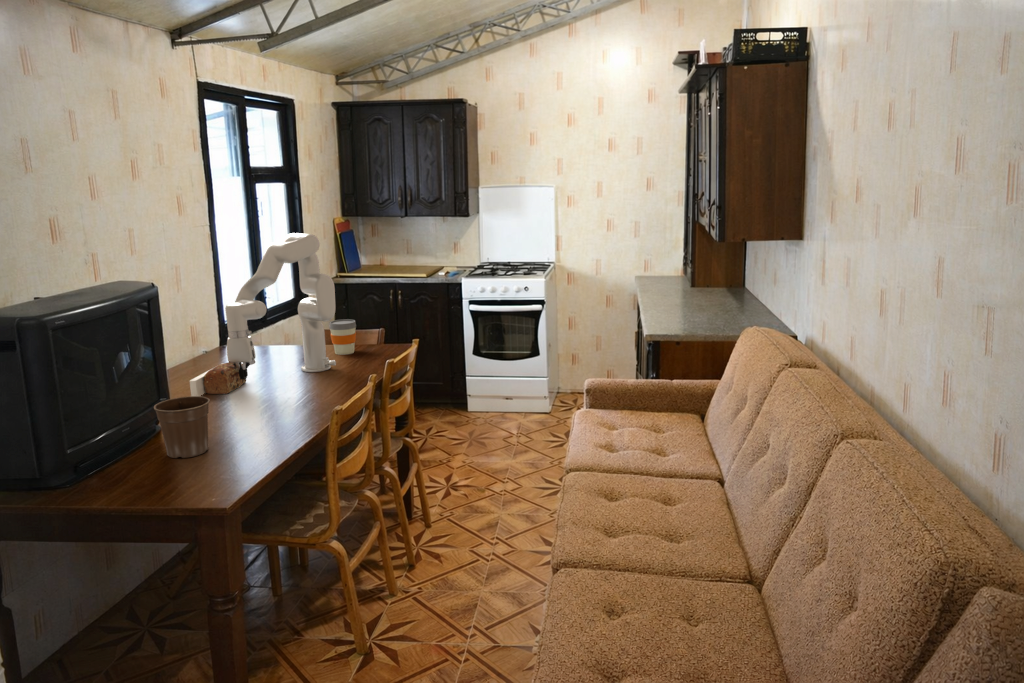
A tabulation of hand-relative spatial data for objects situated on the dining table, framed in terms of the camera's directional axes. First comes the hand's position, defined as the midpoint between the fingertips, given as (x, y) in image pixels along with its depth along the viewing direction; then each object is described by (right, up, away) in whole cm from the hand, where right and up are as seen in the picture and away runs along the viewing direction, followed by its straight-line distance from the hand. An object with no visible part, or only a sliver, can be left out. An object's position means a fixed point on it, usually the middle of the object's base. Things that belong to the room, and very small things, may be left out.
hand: (243, 378), depth 328 cm
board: (-14, -4, +2) cm, 15 cm away
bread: (-8, -4, +2) cm, 9 cm away
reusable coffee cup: (+28, +9, +61) cm, 68 cm away
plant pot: (+6, -20, -73) cm, 76 cm away
